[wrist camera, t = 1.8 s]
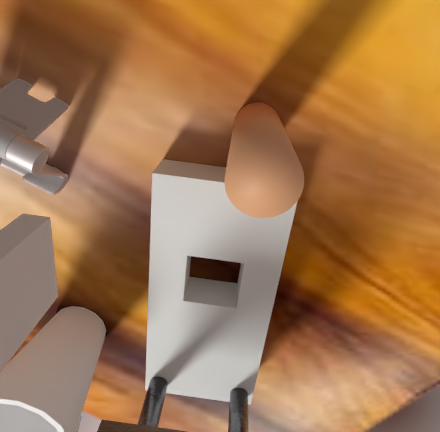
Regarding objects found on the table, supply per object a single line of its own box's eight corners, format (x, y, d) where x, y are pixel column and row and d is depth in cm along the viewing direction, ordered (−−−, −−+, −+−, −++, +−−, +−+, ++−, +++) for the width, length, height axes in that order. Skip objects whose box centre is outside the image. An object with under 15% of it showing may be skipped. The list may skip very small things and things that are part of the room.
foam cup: (117, 300, 40) (63, 406, 28) (121, 359, 44) (75, 473, 32) (35, 291, 40) (-53, 392, 28) (46, 350, 44) (-27, 460, 32)
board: (162, 158, 32) (152, 172, 29) (293, 176, 32) (299, 192, 28) (153, 361, 43) (145, 390, 40) (250, 375, 43) (250, 404, 40)
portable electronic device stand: (-23, 144, 33) (-102, 173, 25) (-4, 64, 30) (-90, 70, 22) (64, 188, 34) (13, 227, 27) (91, 115, 31) (41, 137, 23)
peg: (236, 99, 29) (229, 137, 17) (284, 105, 29) (312, 148, 17) (230, 146, 31) (220, 212, 19) (275, 151, 31) (295, 222, 19)
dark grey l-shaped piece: (142, 314, 35) (96, 433, 24) (272, 332, 35) (283, 459, 24) (140, 389, 40) (101, 516, 29) (254, 405, 40) (257, 538, 29)
